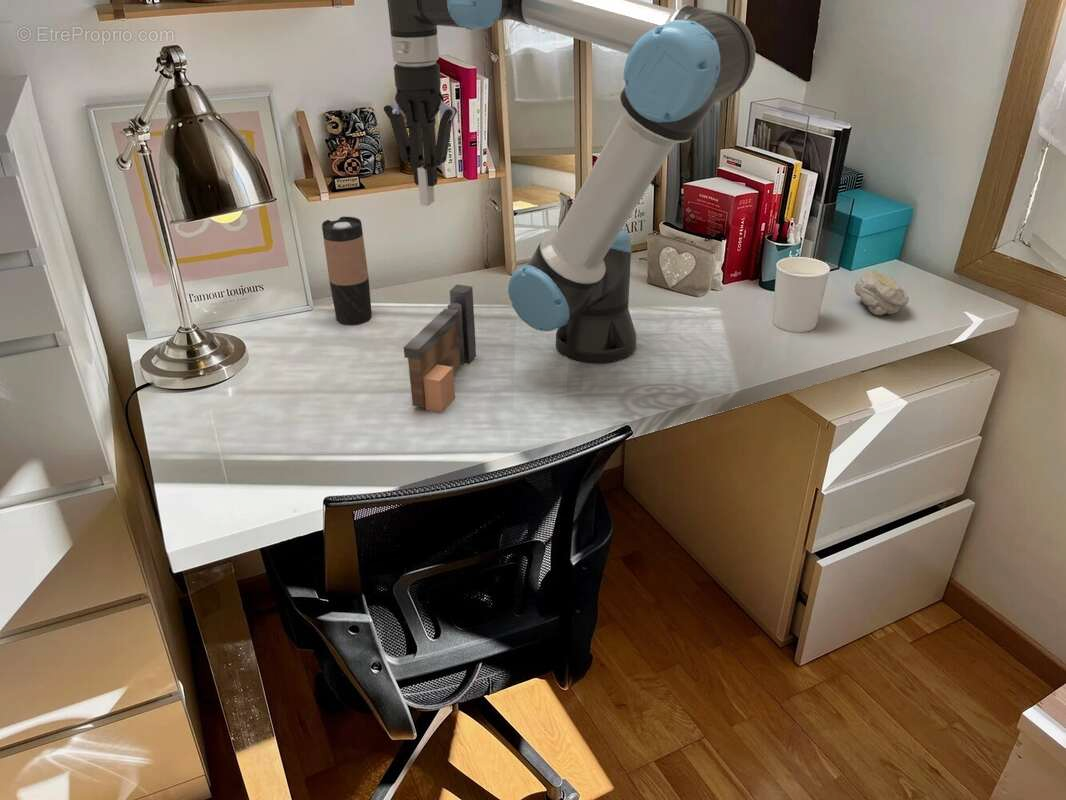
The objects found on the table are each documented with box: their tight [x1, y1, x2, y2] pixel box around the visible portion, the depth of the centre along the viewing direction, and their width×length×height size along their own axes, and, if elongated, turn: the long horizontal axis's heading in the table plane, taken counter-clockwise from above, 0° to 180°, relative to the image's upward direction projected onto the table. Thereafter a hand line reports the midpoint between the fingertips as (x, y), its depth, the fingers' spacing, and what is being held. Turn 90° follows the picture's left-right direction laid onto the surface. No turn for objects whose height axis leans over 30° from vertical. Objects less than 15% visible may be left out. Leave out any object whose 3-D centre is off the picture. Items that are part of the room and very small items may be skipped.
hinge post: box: [449, 284, 477, 365], centre depth 154 cm, size 3×3×14 cm
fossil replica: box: [854, 269, 910, 316], centre depth 171 cm, size 12×8×10 cm
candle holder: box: [772, 256, 831, 333], centre depth 165 cm, size 10×10×12 cm
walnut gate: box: [403, 303, 466, 408], centre depth 145 cm, size 18×3×11 cm, turn 160°
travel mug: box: [321, 216, 373, 326], centre depth 169 cm, size 8×8×20 cm
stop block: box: [423, 364, 456, 413], centre depth 142 cm, size 3×5×6 cm, turn 159°
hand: (427, 202), depth 152 cm, fingers closed
